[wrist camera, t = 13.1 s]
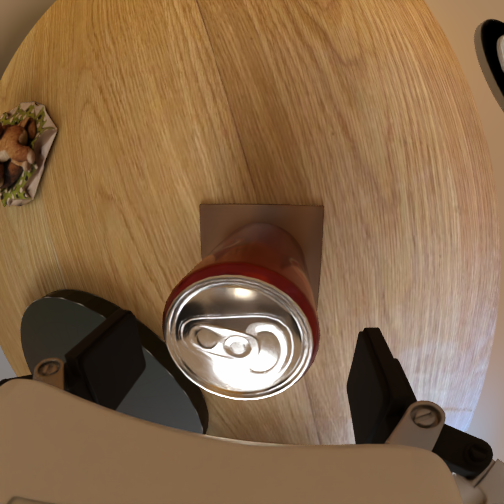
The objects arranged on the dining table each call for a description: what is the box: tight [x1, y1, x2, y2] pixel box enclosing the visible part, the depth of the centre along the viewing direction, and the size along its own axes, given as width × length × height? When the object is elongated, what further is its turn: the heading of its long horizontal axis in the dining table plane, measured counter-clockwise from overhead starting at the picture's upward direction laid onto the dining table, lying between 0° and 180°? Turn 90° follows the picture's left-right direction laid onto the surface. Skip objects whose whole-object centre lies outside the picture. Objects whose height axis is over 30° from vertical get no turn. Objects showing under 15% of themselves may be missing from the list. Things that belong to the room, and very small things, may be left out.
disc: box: [20, 289, 208, 435], centre depth 29 cm, size 30×30×3 cm
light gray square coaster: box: [200, 204, 324, 311], centre depth 23 cm, size 10×10×1 cm
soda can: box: [162, 223, 320, 400], centre depth 17 cm, size 7×7×12 cm
